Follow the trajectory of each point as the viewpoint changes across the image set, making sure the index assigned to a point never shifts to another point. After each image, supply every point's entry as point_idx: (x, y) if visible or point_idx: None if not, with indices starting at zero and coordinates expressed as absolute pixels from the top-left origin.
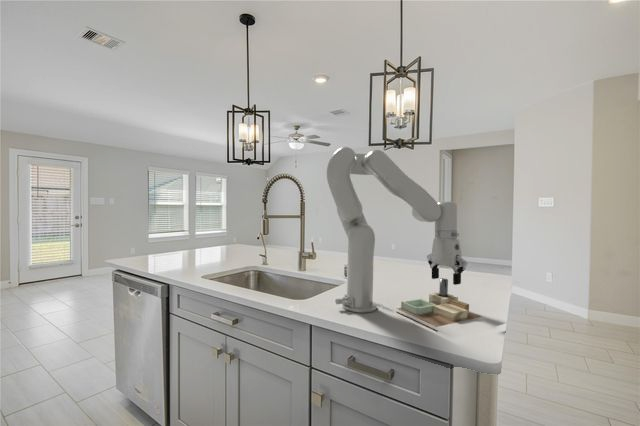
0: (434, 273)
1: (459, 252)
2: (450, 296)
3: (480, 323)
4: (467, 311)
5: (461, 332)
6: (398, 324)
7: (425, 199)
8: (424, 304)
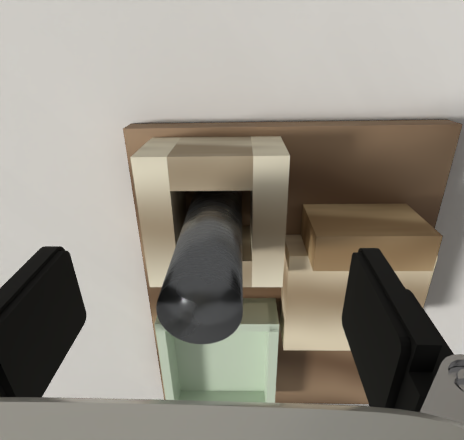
0: (54, 350)
1: None
2: (254, 201)
3: (455, 170)
4: None
5: (443, 327)
6: None
7: None
8: None
